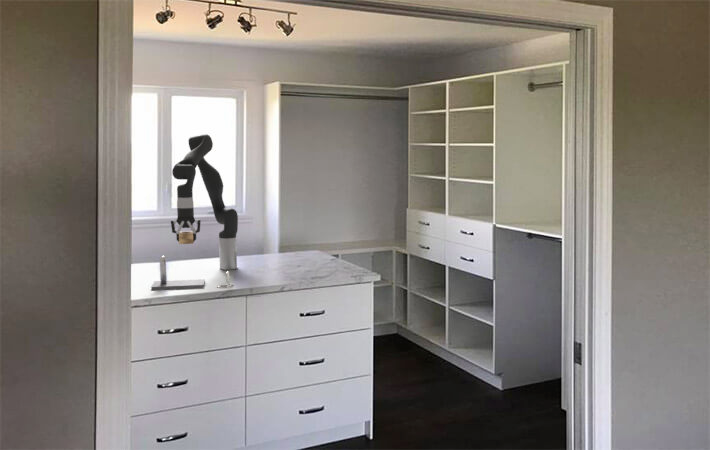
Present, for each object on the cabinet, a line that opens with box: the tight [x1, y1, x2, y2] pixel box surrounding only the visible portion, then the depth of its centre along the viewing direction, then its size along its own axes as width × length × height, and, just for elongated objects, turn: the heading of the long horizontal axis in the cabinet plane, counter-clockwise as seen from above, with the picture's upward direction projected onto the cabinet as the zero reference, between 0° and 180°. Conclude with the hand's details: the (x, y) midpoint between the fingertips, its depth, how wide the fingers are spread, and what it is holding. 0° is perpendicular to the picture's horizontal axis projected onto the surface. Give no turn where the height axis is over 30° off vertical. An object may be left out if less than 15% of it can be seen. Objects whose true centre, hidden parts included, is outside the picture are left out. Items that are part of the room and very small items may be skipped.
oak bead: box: [178, 230, 195, 245], centre depth 304 cm, size 6×6×5 cm
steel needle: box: [159, 255, 168, 284], centre depth 304 cm, size 3×3×13 cm
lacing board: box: [150, 278, 206, 291], centre depth 306 cm, size 24×12×2 cm, turn 100°
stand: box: [216, 270, 235, 289], centre depth 305 cm, size 8×5×8 cm
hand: (186, 241), depth 304 cm, fingers closed on oak bead, 6 cm apart
